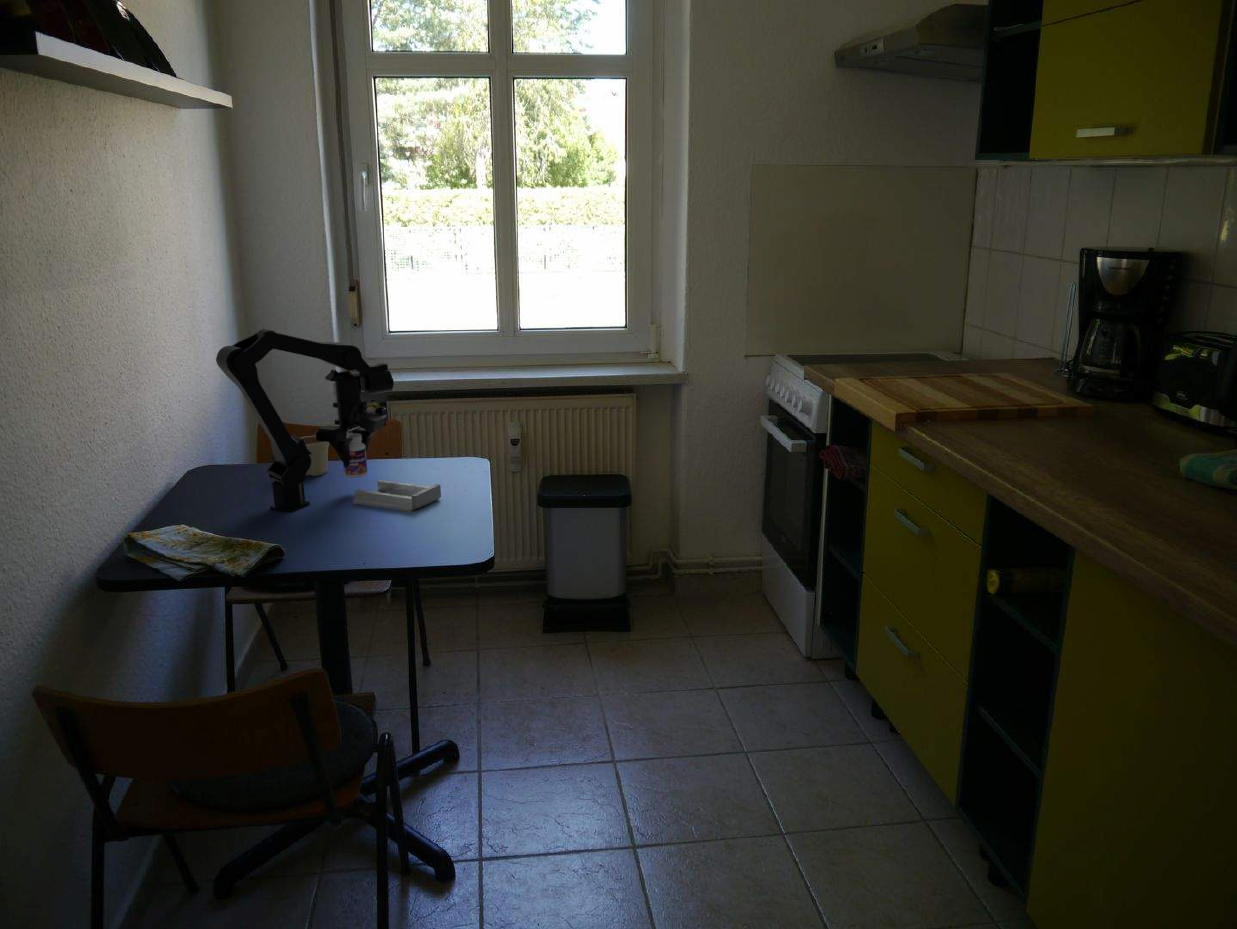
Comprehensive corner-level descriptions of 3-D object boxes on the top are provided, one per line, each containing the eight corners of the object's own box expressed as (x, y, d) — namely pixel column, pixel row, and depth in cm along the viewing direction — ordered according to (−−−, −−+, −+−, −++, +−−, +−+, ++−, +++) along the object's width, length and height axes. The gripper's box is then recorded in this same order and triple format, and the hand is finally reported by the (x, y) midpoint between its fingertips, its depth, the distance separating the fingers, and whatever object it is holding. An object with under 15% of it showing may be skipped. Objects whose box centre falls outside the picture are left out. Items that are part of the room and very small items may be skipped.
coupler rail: (414, 512, 229) (413, 497, 228) (353, 503, 236) (351, 488, 235) (443, 498, 239) (442, 483, 238) (383, 490, 246) (382, 475, 245)
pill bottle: (346, 479, 241) (342, 438, 238) (342, 473, 245) (338, 433, 243) (369, 476, 243) (366, 436, 240) (365, 470, 247) (362, 431, 245)
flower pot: (287, 475, 260) (283, 442, 257) (313, 466, 268) (310, 434, 265) (315, 480, 256) (311, 446, 253) (341, 470, 264) (338, 437, 261)
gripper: (350, 408, 227) (356, 476, 232) (402, 392, 244) (406, 456, 248) (310, 404, 232) (317, 471, 236) (364, 389, 248) (369, 451, 253)
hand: (354, 462), depth 243 cm, fingers closed on pill bottle, 5 cm apart
